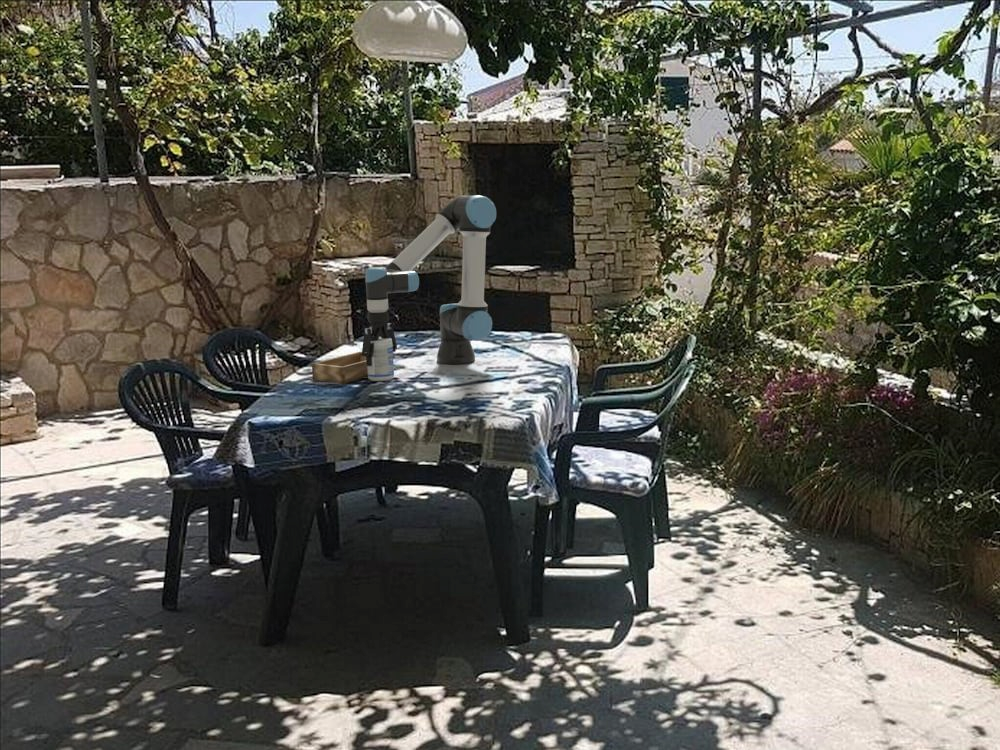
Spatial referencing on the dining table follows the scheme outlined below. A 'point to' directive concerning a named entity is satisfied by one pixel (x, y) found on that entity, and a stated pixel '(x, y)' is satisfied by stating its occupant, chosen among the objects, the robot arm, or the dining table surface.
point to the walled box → (341, 369)
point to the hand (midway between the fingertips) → (380, 371)
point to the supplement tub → (383, 360)
